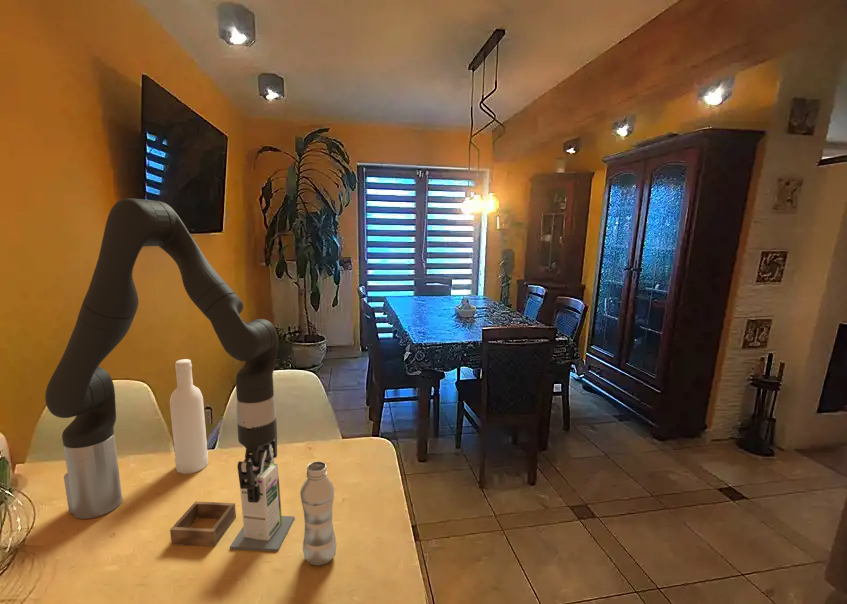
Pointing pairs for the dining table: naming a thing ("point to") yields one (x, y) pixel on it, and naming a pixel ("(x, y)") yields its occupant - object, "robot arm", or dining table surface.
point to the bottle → (188, 422)
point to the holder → (201, 536)
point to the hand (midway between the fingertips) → (261, 490)
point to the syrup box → (263, 506)
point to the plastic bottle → (318, 515)
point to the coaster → (263, 545)
